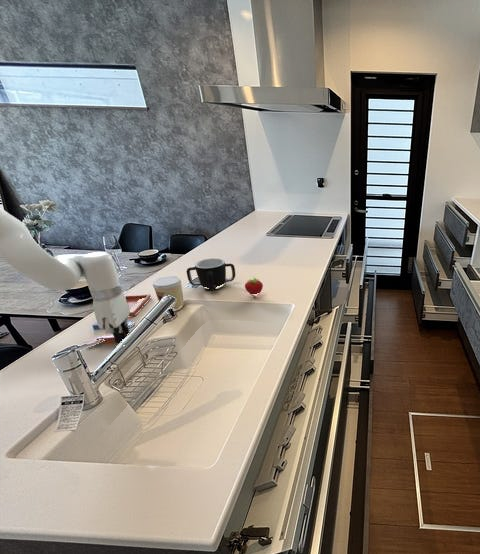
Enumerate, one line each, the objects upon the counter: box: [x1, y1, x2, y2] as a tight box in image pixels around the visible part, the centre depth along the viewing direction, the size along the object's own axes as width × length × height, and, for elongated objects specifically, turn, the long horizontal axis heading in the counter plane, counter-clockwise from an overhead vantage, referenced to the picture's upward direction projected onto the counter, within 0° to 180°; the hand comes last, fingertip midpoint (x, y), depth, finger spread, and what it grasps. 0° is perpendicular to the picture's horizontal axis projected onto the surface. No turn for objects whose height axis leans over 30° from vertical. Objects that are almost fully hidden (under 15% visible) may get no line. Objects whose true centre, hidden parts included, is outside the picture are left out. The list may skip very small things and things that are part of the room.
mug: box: [186, 258, 236, 291], centre depth 140 cm, size 16×16×12 cm
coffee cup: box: [152, 276, 185, 311], centre depth 121 cm, size 9×9×12 cm
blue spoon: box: [91, 321, 135, 331], centre depth 109 cm, size 12×4×2 cm, turn 103°
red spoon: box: [84, 334, 127, 344], centre depth 101 cm, size 12×4×2 cm, turn 103°
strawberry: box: [244, 277, 264, 295], centre depth 133 cm, size 6×8×10 cm
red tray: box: [124, 294, 152, 319], centre depth 121 cm, size 9×15×2 cm, turn 13°
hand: (123, 339), depth 102 cm, fingers closed on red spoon, 1 cm apart
